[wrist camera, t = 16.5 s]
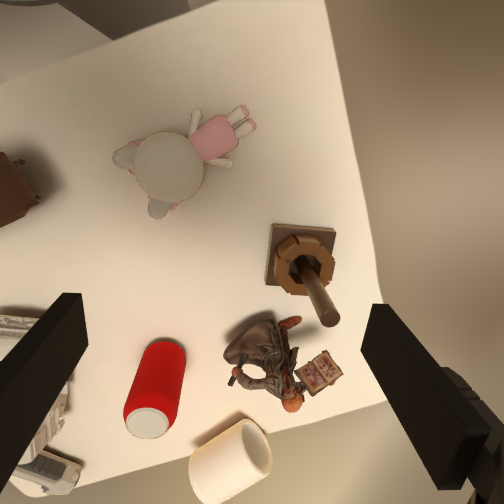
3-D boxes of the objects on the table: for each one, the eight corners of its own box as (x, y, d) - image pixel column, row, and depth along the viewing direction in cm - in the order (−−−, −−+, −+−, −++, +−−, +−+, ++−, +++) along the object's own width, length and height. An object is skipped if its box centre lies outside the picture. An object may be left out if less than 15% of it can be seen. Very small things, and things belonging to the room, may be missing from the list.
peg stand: (271, 223, 41) (293, 276, 28) (333, 228, 42) (384, 282, 28) (264, 280, 44) (280, 353, 30) (321, 283, 45) (363, 356, 31)
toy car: (72, 308, 44) (30, 359, 35) (76, 419, 51) (42, 485, 42) (-10, 300, 43) (-76, 350, 33) (6, 414, 50) (-45, 481, 41)
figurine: (326, 316, 47) (366, 398, 33) (313, 356, 50) (345, 449, 36) (229, 303, 45) (230, 385, 31) (221, 346, 48) (218, 439, 34)
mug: (201, 517, 47) (240, 489, 57) (257, 483, 44) (288, 460, 55) (180, 456, 51) (221, 440, 61) (231, 422, 49) (264, 411, 59)
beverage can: (146, 371, 49) (121, 445, 38) (142, 336, 46) (115, 405, 35) (187, 370, 49) (176, 444, 38) (186, 336, 47) (173, 403, 36)
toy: (214, 90, 39) (105, 159, 35) (234, 68, 32) (103, 151, 29) (251, 152, 42) (153, 221, 38) (276, 143, 35) (161, 226, 32)
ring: (276, 231, 40) (280, 240, 37) (331, 236, 41) (339, 244, 38) (269, 282, 43) (272, 293, 40) (321, 285, 44) (328, 297, 41)
